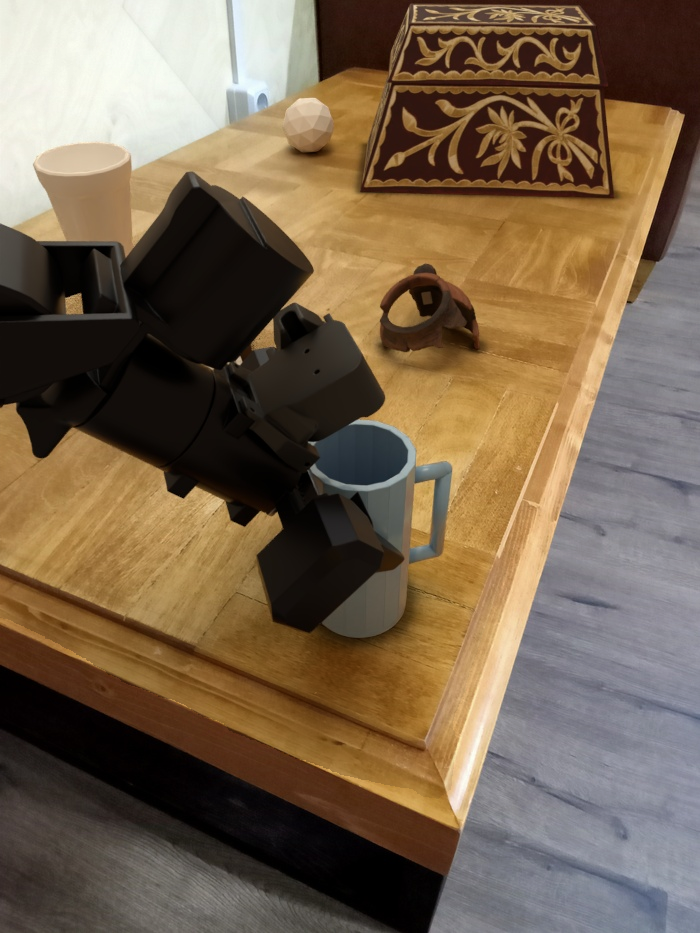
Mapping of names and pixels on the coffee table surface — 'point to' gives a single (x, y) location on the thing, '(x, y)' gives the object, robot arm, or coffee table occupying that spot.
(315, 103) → the geometric ball
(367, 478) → the tall blue mug
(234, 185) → the coffee table surface
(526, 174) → the decorative box
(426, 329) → the brown hollow shell
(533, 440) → the coffee table surface
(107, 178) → the cup
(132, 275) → the robot arm
